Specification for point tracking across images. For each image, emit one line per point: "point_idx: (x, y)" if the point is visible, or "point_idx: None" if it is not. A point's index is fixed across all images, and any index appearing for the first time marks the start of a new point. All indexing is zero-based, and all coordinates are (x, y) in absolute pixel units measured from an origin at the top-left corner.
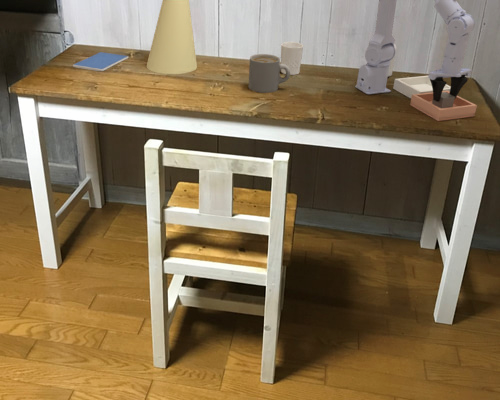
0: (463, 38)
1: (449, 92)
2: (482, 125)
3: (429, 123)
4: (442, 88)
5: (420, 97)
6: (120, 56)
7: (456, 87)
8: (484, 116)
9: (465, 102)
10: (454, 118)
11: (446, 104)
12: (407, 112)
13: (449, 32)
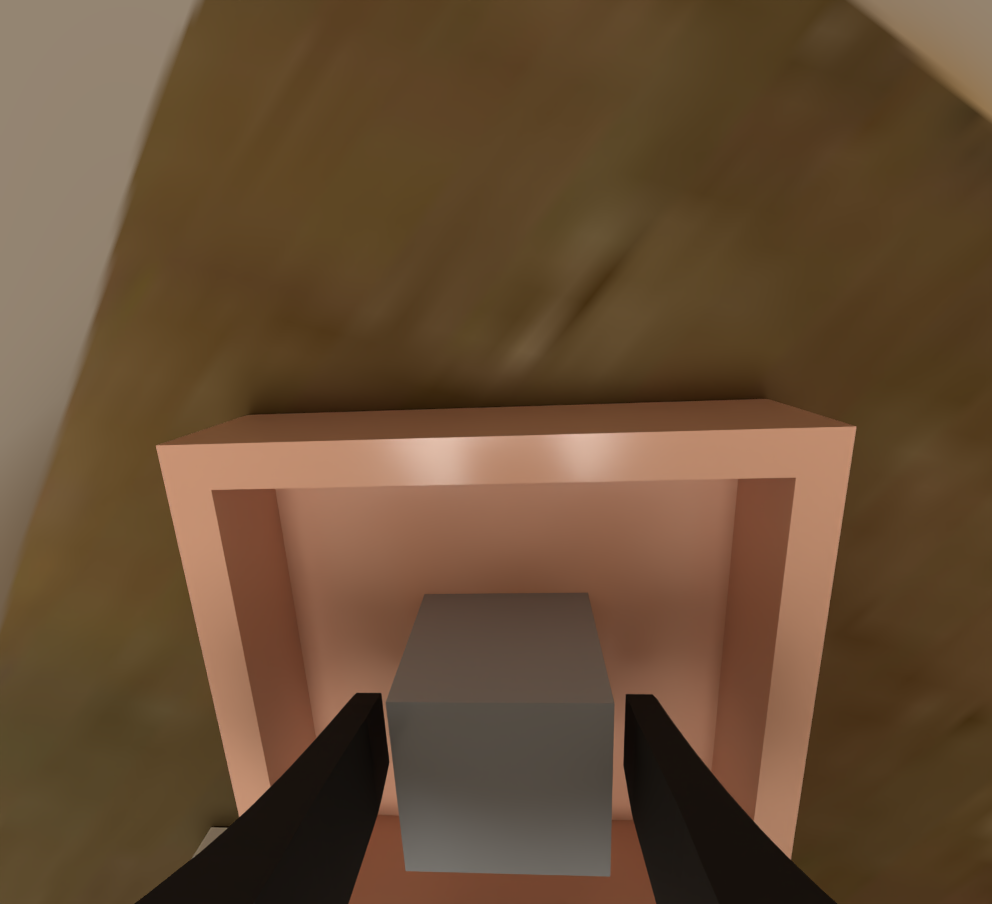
0: None
1: None
2: (316, 133)
3: (922, 364)
4: (747, 894)
5: None
6: None
7: (296, 886)
8: (134, 379)
9: (243, 604)
10: (527, 407)
11: (521, 632)
12: (901, 682)
13: None
